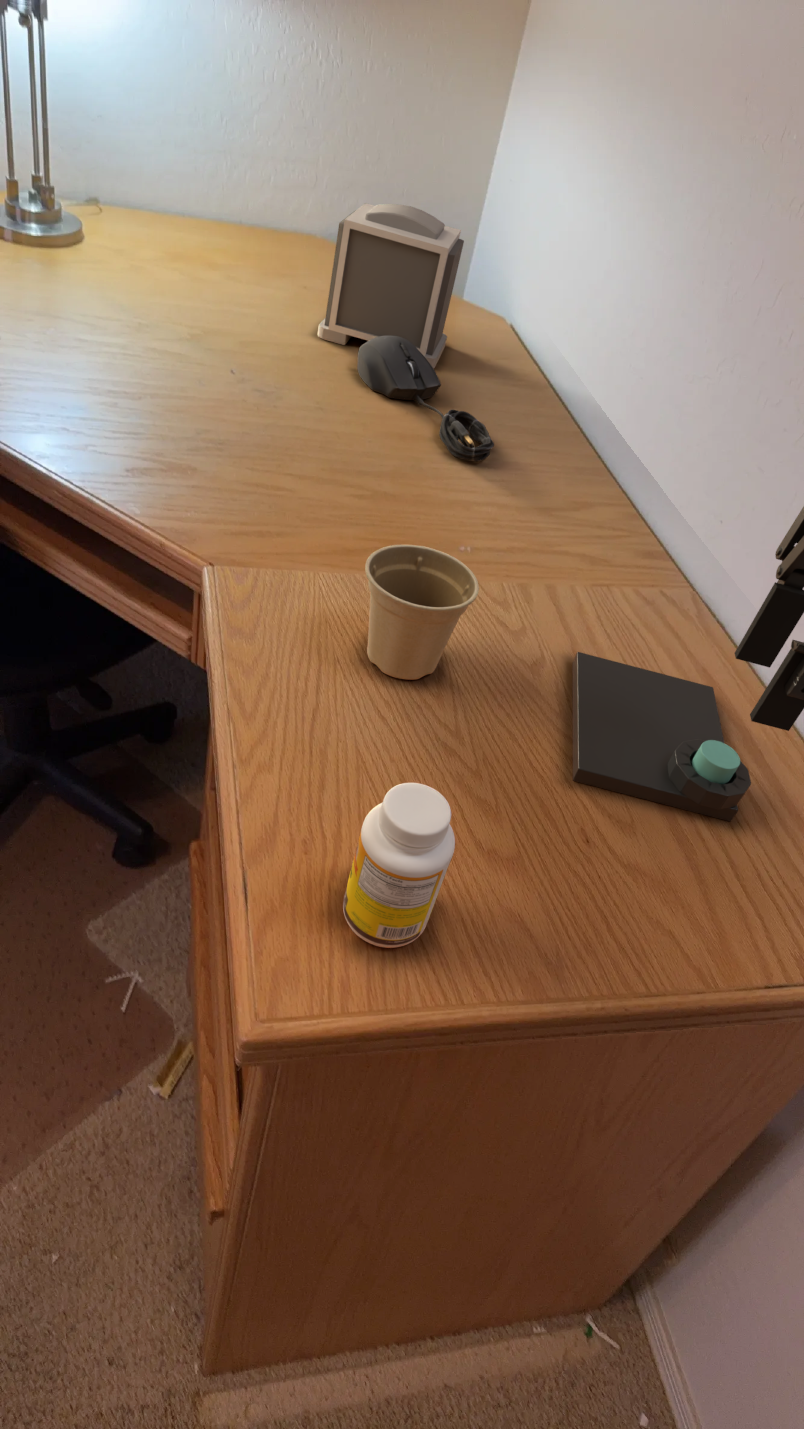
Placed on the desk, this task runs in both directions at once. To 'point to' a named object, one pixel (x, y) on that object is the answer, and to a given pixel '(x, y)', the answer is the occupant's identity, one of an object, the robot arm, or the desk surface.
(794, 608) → the robot arm
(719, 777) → the button
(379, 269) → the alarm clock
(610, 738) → the scale
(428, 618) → the flower pot
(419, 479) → the desk surface
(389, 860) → the supplement bottle
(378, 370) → the computer mouse
